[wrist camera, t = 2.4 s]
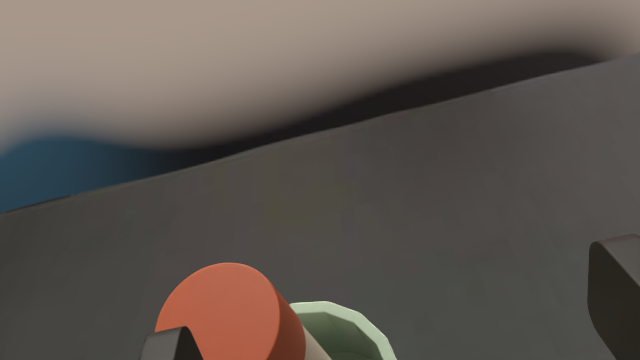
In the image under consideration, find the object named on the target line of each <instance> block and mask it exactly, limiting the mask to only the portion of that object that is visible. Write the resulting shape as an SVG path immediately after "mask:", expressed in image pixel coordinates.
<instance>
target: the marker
mask: <svg viewBox="0 0 640 360" xmlns="http://www.w3.org/2000/svg"><path fill="white" fill-rule="evenodd" d="M182 326H187V327H188V328H189V329H190V331H191V333H192V335H193V337H194V339H195V341H196V344H197V346H198V348H199V350H200V353H201V355H202V357H203V359H204V360H332V359H331V358H330V357H329V356H328V355H327V353H326V352H325V351H324V350H323V349H322V347H321V346H320V345H319V344H318V343H317V342H316V340H315V339H314V338H313V337H312V336H311V335H310V333H309V332H308V331H307V330H306V329H305V328H304V326H303V325H302V323H301V321H300V319H299V317H298V316H297V314H296V313H295V311H294V310H293V309H292V308H291V307H290V305H289V304H288V303H287V302H286V301H285V300H284V298H283V297H282V296H281V295H280V294H279V292H278V291H277V290H276V289H275V288H274V286H273V285H272V284H271V283H270V282H269V280H268V279H267V278H266V277H265V276H264V275H263V274H261V273H260V272H259V271H257V270H256V269H254V268H252V267H249V266H247V265H243V264H238V263H220V264H215V265H211V266H208V267H205V268H203V269H201V270H199V271H197V272H195V273H193V274H192V275H190V276H189V277H188V278H186V279H185V280H184V281H183V282H182V283H180V284H179V286H178V287H177V288H176V289H175V290H174V291H173V292H172V293H171V295H170V296H169V298H168V299H167V301H166V302H165V304H164V306H163V308H162V310H161V312H160V315H159V317H158V320H157V324H156V328H155V332H158V331H163V330H167V329H172V328H177V327H182Z"/></svg>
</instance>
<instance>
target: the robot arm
mask: <svg viewBox="0 0 640 360" xmlns="http://www.w3.org/2000/svg"><path fill="white" fill-rule="evenodd" d="M587 303H588V310H589V314H590V317H591V320H592V322H593V325H594V327H595V329H596V331H597V332H598V334H599V336H600V337H601V338H602V340H603V341H604V343H605V344H606V345H607V347H608V348H609V350H610V351H611V352H612V354H613V355H614V357H615V358H616V359H617V360H640V236H638V235H636V234H629V235H625V236H620V237H615V238H610V239H605V240H601V241H596V242H593V243H592V244H591V246H590V250H589V272H588V298H587ZM139 360H204V359H203V357H202V355H201V353H200V350H199V348H198V346H197V344H196V341H195V339H194V337H193V335H192V333H191V331H190V329H189V328H188V327H187V326H182V327H177V328H172V329H167V330H163V331H158V332H153V333H149V334H148V335H147V336H146V338H145V340H144V343H143V347H142V350H141V353H140V357H139Z"/></svg>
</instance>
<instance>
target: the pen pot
mask: <svg viewBox="0 0 640 360" xmlns="http://www.w3.org/2000/svg"><path fill="white" fill-rule="evenodd" d="M290 307H291V308H292V309H293V310H294V311H295V313H296V314H297V316H298V317H299V319H300V321H301V323H302V325H303V326H304V328H305V329H306V330H307V331H308V332H309V333H310V335H311V336H312V337H313V338H314V339H315V340H316V342H317V343H318V344H319V345H320V346H321V347H322V349H323V350H324V351H325V352H326V353H327V355H328V356H329V357H330V358H331V359H332V360H397V358H396V355H395V353H394V351H393V349H392V347H391V345H390V343H389V341H388V339H387V338H386V336H385V335H384V334H383V333H381V332H380V331H379V330H378V329H377V328H376V327H375V326H374V325H373V324H372V323H371V322H370V321H369V320H367V319H366V318H365V317H364V316H363V315H362V314H361V313H359V312H357V311H354V310H351V309H348V308H345V307H343V306H340V305H337V304H334V303H331V302H327V301H321V302H304V303H294V304H293V303H292V304H290Z"/></svg>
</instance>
